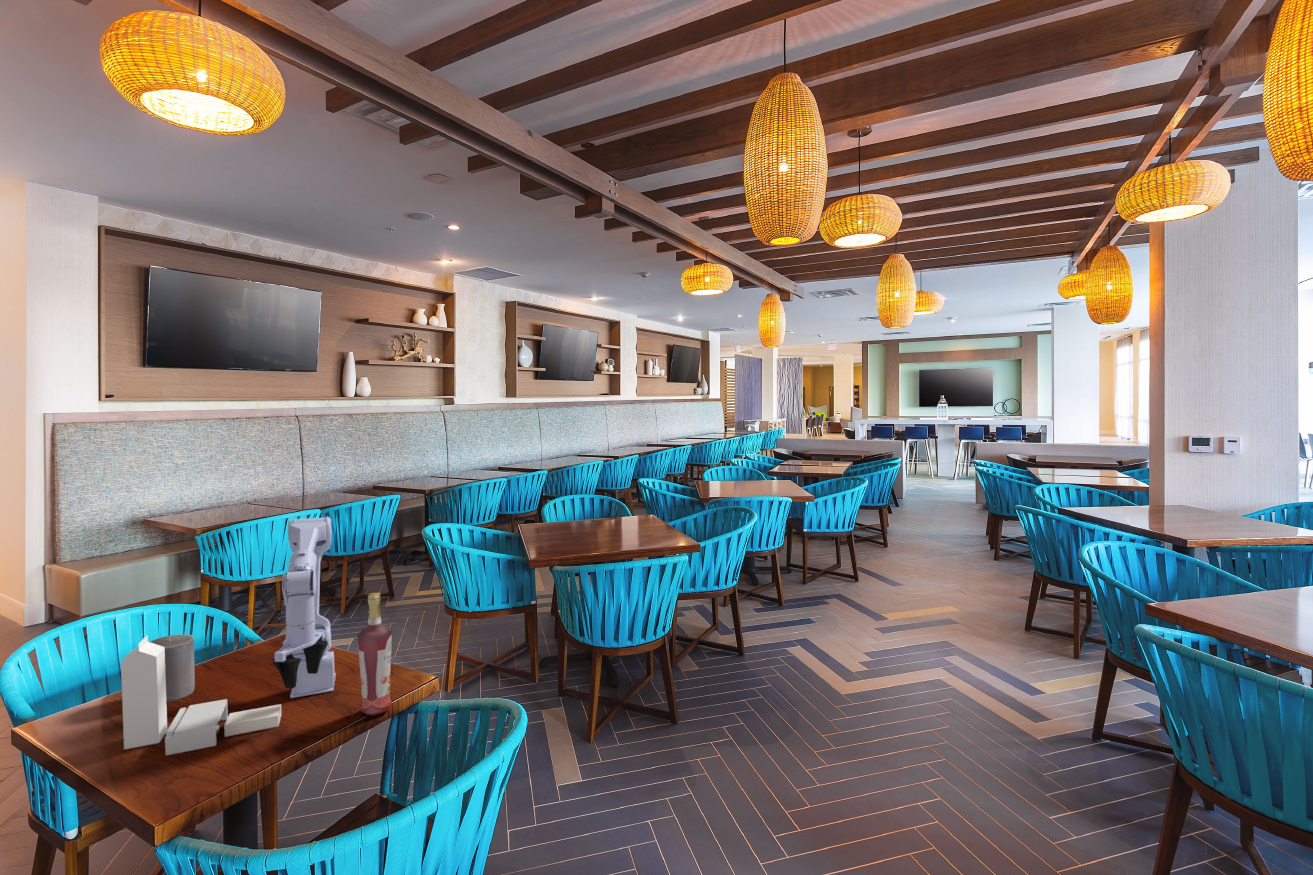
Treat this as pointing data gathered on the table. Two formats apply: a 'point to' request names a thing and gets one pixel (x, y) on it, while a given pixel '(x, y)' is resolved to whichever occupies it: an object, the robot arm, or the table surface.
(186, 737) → the slotted white box
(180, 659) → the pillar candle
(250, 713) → the cream rectangular beam
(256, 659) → the table surface
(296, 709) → the table surface
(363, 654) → the liquor
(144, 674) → the milk
